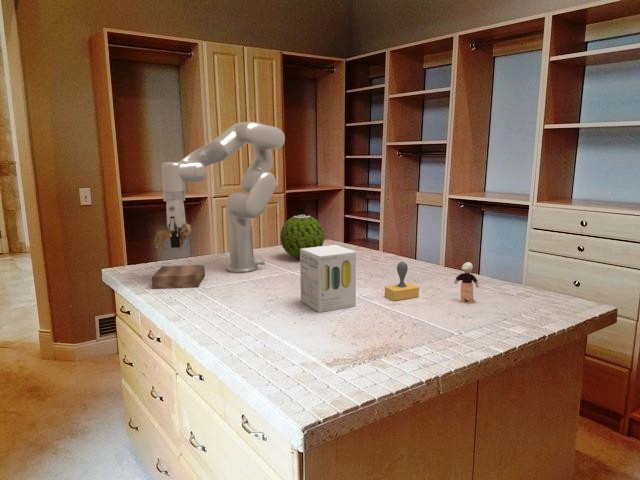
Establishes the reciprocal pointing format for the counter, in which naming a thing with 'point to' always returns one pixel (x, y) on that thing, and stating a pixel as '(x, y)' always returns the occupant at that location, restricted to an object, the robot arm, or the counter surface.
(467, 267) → the grandmother figurine
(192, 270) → the walnut block
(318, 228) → the decorative ball
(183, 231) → the lion figurine
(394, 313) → the counter surface
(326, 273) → the supplement box
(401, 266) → the rubber stamp
